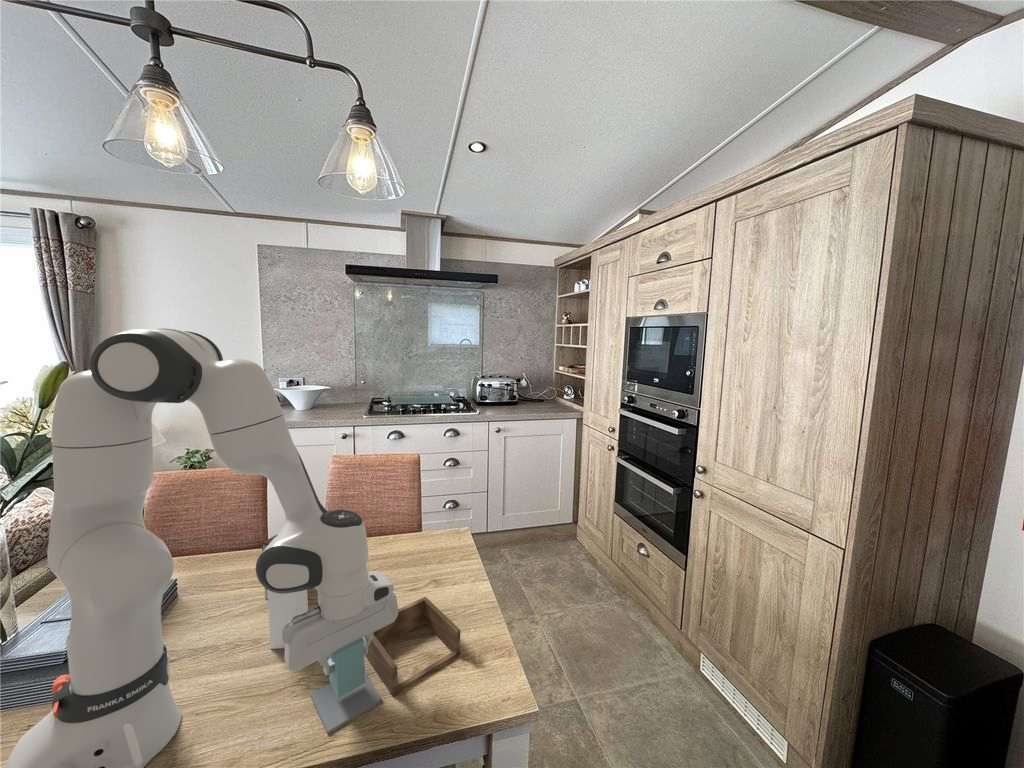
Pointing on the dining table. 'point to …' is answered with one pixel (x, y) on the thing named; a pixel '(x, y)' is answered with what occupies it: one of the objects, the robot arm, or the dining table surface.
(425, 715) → the dining table surface
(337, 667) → the block
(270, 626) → the milk
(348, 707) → the mat
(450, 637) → the crate
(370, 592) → the robot arm
